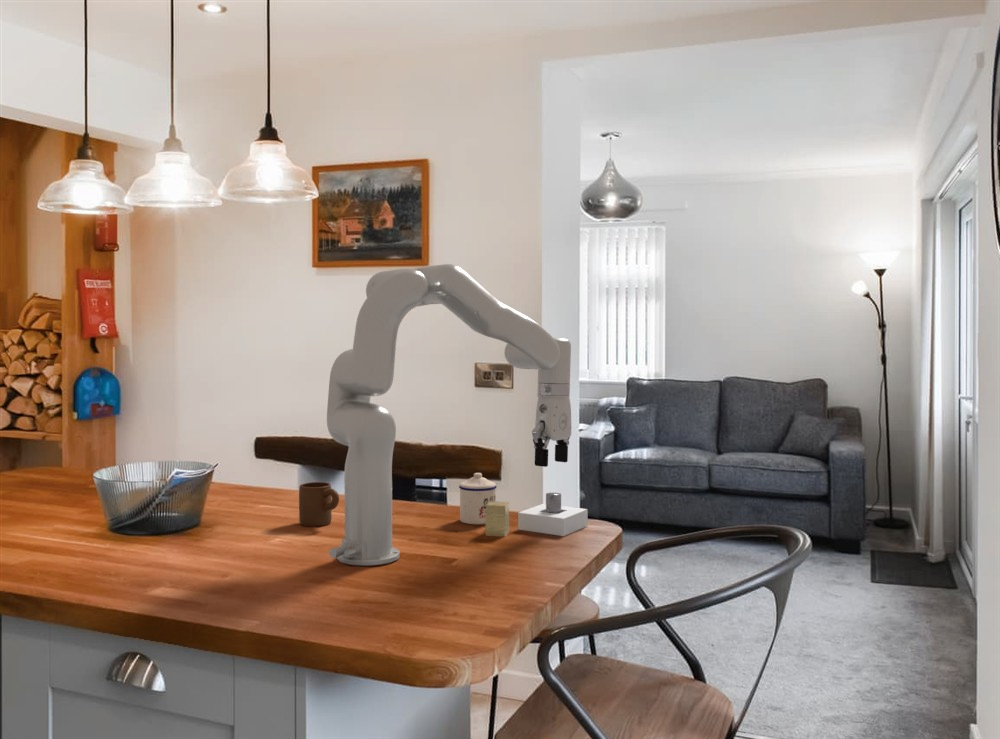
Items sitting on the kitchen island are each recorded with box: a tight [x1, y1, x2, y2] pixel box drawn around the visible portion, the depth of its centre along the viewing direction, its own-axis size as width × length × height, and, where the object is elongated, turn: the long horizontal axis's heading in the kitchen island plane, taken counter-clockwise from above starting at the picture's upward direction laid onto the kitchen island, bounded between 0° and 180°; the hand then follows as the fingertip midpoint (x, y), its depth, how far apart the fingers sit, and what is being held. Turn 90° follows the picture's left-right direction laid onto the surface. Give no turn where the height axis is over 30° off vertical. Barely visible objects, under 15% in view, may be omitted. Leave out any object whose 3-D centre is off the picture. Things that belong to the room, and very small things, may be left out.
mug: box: [298, 481, 340, 528], centre depth 206 cm, size 12×8×9 cm, turn 51°
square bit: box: [485, 501, 510, 538], centre depth 198 cm, size 4×4×7 cm
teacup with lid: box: [458, 472, 497, 526], centre depth 212 cm, size 12×9×12 cm
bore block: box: [517, 503, 589, 537], centre depth 204 cm, size 12×12×4 cm
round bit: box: [545, 492, 562, 514], centre depth 204 cm, size 4×4×8 cm
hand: (551, 463), depth 203 cm, fingers open, 9 cm apart
